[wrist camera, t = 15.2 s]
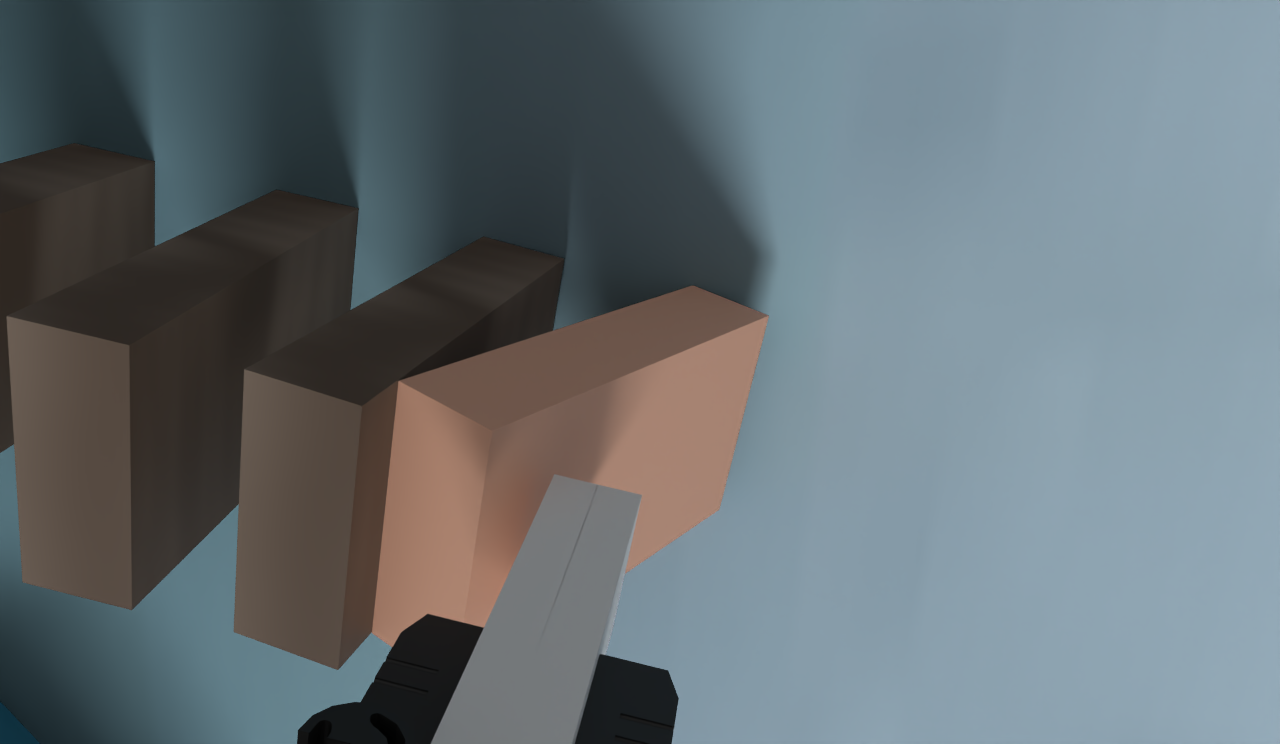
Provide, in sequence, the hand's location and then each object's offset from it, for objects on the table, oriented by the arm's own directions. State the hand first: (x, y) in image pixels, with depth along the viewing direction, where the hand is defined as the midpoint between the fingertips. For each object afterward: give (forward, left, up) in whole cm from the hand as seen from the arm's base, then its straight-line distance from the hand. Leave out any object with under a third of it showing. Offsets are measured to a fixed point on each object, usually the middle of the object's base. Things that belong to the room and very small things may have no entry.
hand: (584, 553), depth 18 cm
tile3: (+5, -7, -8) cm, 11 cm away
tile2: (+2, -3, -8) cm, 8 cm away
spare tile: (-1, +1, -7) cm, 7 cm away
